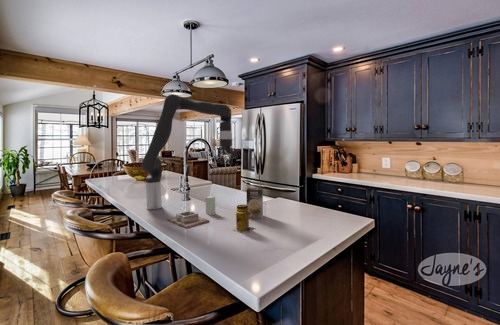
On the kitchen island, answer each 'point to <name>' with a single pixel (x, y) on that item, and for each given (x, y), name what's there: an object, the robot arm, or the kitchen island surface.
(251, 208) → the coffee box
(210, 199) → the post
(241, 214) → the condiment
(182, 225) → the board
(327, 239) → the kitchen island surface
